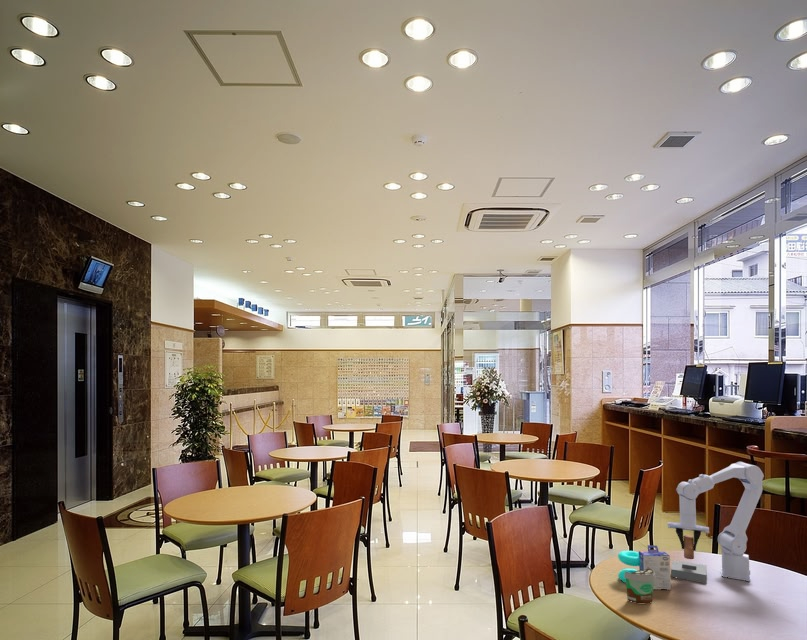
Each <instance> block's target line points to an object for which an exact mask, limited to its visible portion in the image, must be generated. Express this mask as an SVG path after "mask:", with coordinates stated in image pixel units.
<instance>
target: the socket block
mask: <svg viewBox="0 0 807 640" xmlns="http://www.w3.org/2000/svg"><path fill="white" fill-rule="evenodd" d="M707 568H708V567H707V565H706V564H700V563H695V562H694V563H693V562H688V561H680V560H675V559H673V560H672V563H671V568H670V574H671V578H673V577H677V578H676V579H679V578H682V579H681V580H685V579H686V581H691V582H696V581H697V582H696V583H702V582H704V583H703V584H707V583H708V582H707V581H708V570H707Z"/></svg>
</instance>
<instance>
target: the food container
mask: <svg viewBox="0 0 807 640" xmlns="http://www.w3.org/2000/svg"><path fill="white" fill-rule="evenodd" d="M636 570H637V571H635V572H632V573H629V572H626V571H625V576H624V578H626V583H625V586H626V594H627V595H626V596H627V601H628V600H629V601H628V602H630V601H632V602H631V603H633V602H636V603H635V604H637V603H650V602H653V598H654V597H653V596H654V594H653V593H654V589H653V582H654V580H655V579H656V576H655V572H654V570H653V569H652V568H650V567H647V569H646V570H638V569H636ZM650 604H651V603H650Z"/></svg>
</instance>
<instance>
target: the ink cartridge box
mask: <svg viewBox="0 0 807 640" xmlns="http://www.w3.org/2000/svg"><path fill="white" fill-rule="evenodd" d="M651 548H654V549H651ZM638 552H639V558H640V566H638V568H639V570H646V569H647V567H650V568H652V569H653V570H654V572H655V576H656V579H655V580H654V582H653V590H661V589H667V590H668V591H670V590H672V587H671V586H672V585H671V583H672V582H671V556H670V555H669V554H668V553H667V552H666V551H662V550H661V551H659V547H658V545H650V544H647V551H646V550H645V551H642V550H641V551H640V550H639V551H638Z"/></svg>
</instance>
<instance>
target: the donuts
mask: <svg viewBox="0 0 807 640" xmlns="http://www.w3.org/2000/svg"><path fill="white" fill-rule="evenodd" d="M617 558H618V560H619V561H620V562H621V563H622V564H624V565H626V566H630V567H639V566H640V558H639V551H636V550H622V551H619V553H618V555H617ZM637 570H638V569H635V568H624V569H621V570H619V571H618V574H617V575H618V578H619V580H620V581H621V580H622V581H621V582H623V583H625V582H626V578H624V576H625V571H626V572H629V573H632V572H635V571H637Z"/></svg>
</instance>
